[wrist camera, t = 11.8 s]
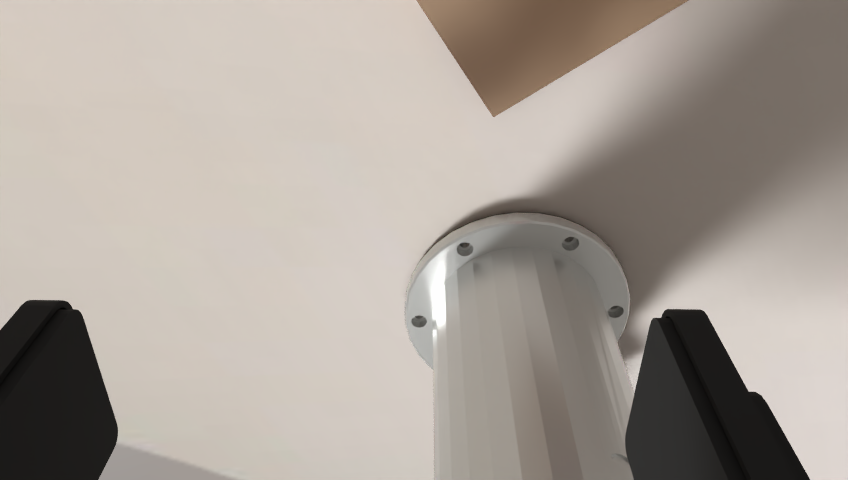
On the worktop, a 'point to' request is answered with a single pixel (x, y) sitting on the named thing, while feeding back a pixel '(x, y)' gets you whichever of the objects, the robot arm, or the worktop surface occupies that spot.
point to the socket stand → (533, 39)
